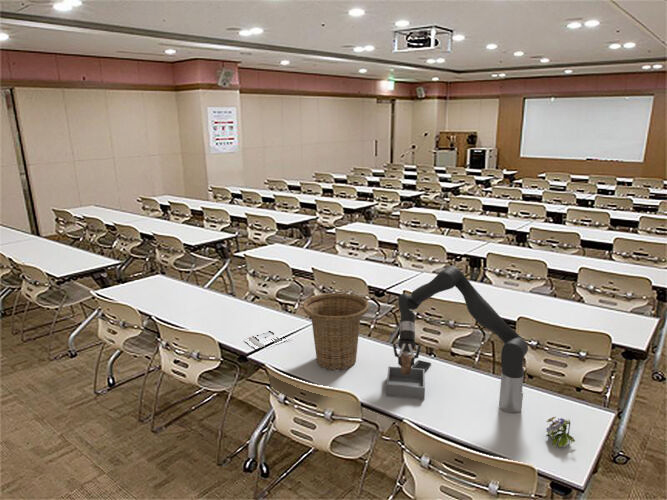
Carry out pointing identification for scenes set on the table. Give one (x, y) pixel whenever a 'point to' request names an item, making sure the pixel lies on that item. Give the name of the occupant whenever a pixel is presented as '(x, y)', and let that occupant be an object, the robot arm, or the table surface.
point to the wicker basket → (336, 327)
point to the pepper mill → (406, 363)
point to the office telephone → (261, 343)
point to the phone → (422, 365)
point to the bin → (405, 383)
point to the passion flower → (558, 427)
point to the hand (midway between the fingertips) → (406, 365)
